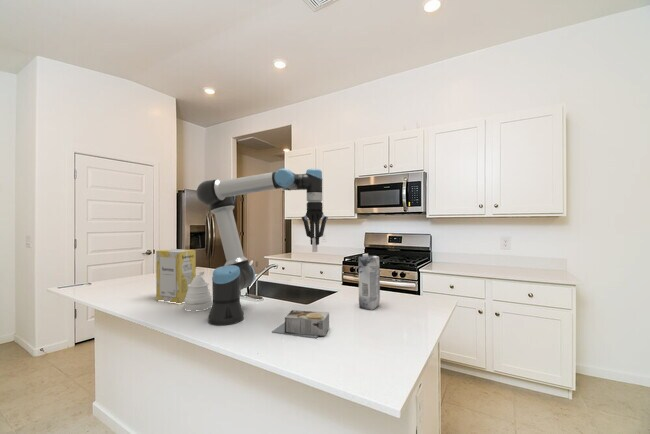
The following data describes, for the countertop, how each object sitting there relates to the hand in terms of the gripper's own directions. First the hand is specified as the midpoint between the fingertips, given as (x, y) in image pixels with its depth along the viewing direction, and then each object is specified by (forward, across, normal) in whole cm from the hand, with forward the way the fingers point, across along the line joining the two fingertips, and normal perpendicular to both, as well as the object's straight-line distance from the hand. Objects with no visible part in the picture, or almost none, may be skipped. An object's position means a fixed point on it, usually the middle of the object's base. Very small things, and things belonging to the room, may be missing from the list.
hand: (314, 251), depth 141 cm
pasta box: (+30, -83, -2) cm, 88 cm away
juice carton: (+30, +22, +19) cm, 41 cm away
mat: (+29, +2, -20) cm, 36 cm away
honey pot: (+30, -61, -9) cm, 68 cm away
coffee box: (+26, +13, -20) cm, 35 cm away
